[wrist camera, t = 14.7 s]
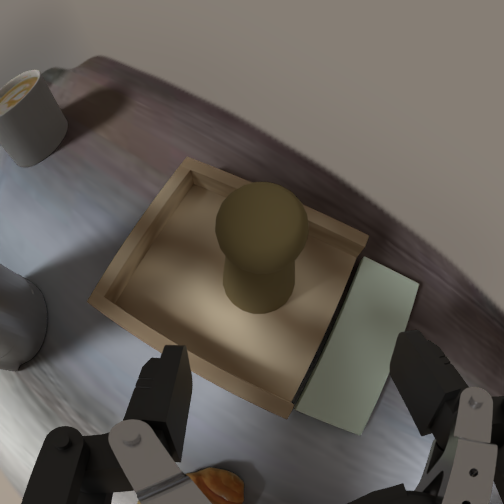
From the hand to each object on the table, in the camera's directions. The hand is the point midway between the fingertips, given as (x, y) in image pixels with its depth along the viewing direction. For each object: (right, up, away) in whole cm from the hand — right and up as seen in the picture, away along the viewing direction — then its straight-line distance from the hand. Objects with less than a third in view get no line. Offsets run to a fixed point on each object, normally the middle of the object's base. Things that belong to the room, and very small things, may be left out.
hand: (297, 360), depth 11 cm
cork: (-1, +2, +15) cm, 15 cm away
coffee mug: (-34, +21, +25) cm, 47 cm away
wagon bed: (-4, +1, +16) cm, 17 cm away
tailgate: (+5, -3, +14) cm, 15 cm away
